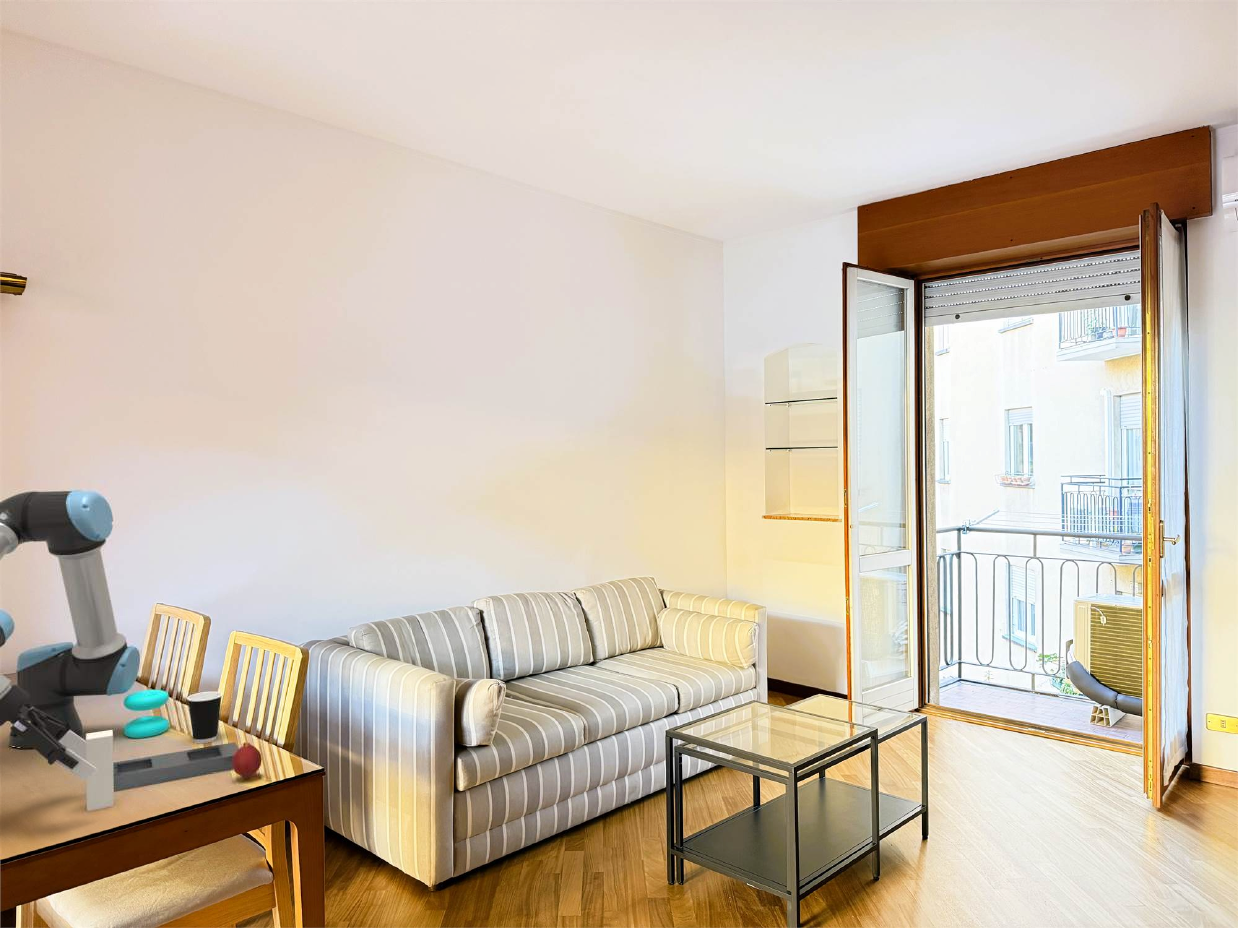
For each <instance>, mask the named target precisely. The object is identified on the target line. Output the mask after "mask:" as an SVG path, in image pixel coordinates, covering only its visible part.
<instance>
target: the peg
mask: <svg viewBox="0 0 1238 928" xmlns="http://www.w3.org/2000/svg"><path fill="white" fill-rule="evenodd" d="M113 731H114V730H113V729H110V730H109V729H108V730H103V731H97V732H89V733H86V734H85V741H86V761H87V762H88V763H90V764H91V765H93V766H94V767H96V770H95V771H94V772H93V773H92V774H91V775H90V776H89V777H88V778H87V779H86V812H90V811H97V810H101V809H107V808H111V807H114V806H115V805H114V804H115V799H114V797H115V796H114V795H115V794H114V793H115V791H114V782H113V763H114V733H113Z"/></svg>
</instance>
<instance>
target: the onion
mask: <svg viewBox="0 0 1238 928" xmlns="http://www.w3.org/2000/svg"><path fill="white" fill-rule="evenodd" d="M262 759H263V758H262V754H261V752H260V750H259V749H258V748H257V747H256V746H254V745H253V744H251V743H250V742H248V741H244V742H243V743H242V746H241V747H239V749H238V751H237V752H236V753H235V755H234V757H233V760H232V766H233V769H232V770H233V771H234V773H236V774H237V775H238V776H240V777H242V778H243V779H244V778H245V779H246V780H248V779H250V778H251V777H252V776H254V775H255V774H256V773H257V772H258V771H259V769H260V767H261V766H262ZM247 778H248V779H247ZM245 779H244V780H245Z"/></svg>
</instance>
